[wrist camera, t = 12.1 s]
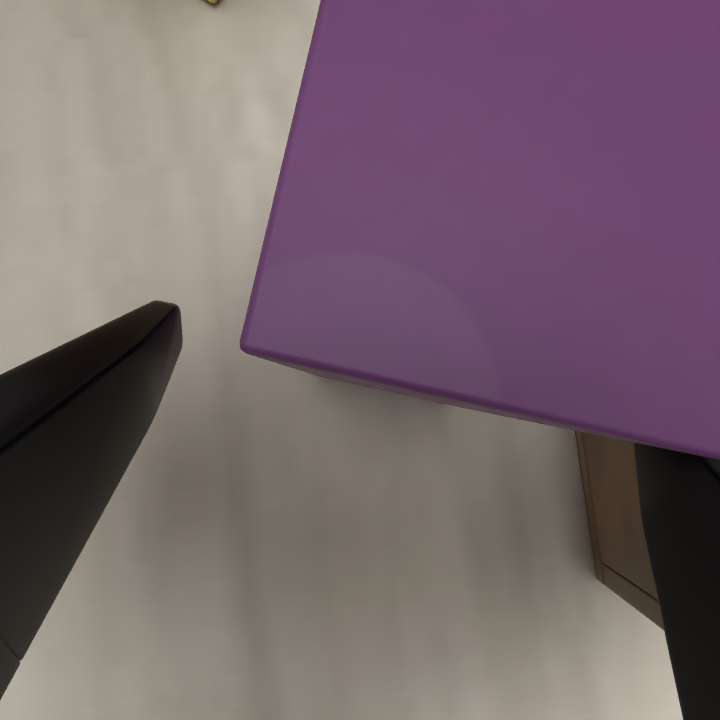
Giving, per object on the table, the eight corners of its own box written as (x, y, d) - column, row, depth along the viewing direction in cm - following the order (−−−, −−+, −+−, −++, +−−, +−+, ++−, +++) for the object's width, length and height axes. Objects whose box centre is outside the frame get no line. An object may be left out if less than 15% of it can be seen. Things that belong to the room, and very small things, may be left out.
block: (450, 405, 18) (734, 462, 5) (313, 374, 18) (235, 350, 5) (480, 268, 18) (821, -14, 5) (344, 237, 18) (350, -132, 5)
